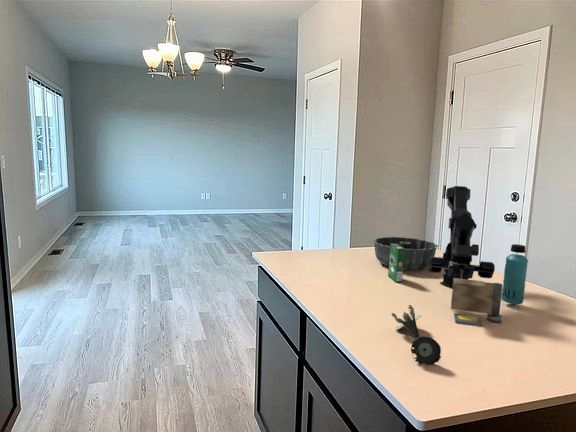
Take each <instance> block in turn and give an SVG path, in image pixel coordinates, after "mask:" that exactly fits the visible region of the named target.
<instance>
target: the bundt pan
mask: <svg viewBox="0 0 576 432" xmlns="http://www.w3.org/2000/svg"><path fill="white" fill-rule="evenodd" d="M372 240H373V241H372V243H374V254H375V258H376V259H377V260H378V262H379V263H381V264H382V265H385V266H386V267H388V268H389V257H390V244H391V243H394V244H398V245H400V246H401V247H403V248H404V249H405V253H404V264H403V271H406V270H407V269H409V270H423V269H424V268H429V262H430V258H431V257H436V251H437V249H438V247H439V245H438V244H436V243H435V242H432V241H428V240H426V239H425V240H424V239H420V238H414V237H406V236H382V237H376V238H375V239H372Z"/></svg>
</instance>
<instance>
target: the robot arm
mask: <svg viewBox="0 0 576 432" xmlns="http://www.w3.org/2000/svg"><path fill="white" fill-rule="evenodd" d="M445 200H447V201H446V202H447V203H446V204H447V206H448V207H449V209H450V213H451V214H450V217H449V218H448V226H447V227H448V229H450V234H449V235H450V236H449V237H450V238H449V242H448V243H447V245H446V246H445V251H444V252H443V253H442V256H441V257H439V256H434V257H431V258H430V262H429V266H428V272H430V273H434V274H439V273H440V274H441V272H442V270H444V272H443V276H442V277H443V279H442V281H440V282H439V284H440V285H444V286H445V287H448V288H451V289H453V279H454V278H458V279H467V280H472V279H473V277H474V273H475V272H476V273H477V275H478V277H479V278H481V279H482V278H483V279H492V278H493V276H494V272H495V271H496V269H495V263H493V262H492V261H483V260H481V261H480V262H479V264H471V263H472V262H473V257H477V256H478V257H479V251H480V248H479V247H480V245H479V244H472V245H471V239H472V237H473V233H474V231H475V229H477V224H476V222H475V220H474V219H473V217H472V213H471V212H470V211H469V210H468V201H470V200H471V189H470V188H468V187H466V186H465V185H455V186H452V187H448V188H446V192H445Z"/></svg>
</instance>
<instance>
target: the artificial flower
mask: <svg viewBox="0 0 576 432" xmlns="http://www.w3.org/2000/svg"><path fill="white" fill-rule="evenodd" d="M407 309H408V311H409V313H408V312H406V311H402V312H403V314H402V318H400V317H398V316H397V314H396V313H394V312H391V316H392V318H394V320H395V322H396V323H399V324H400V325H396V326H395V330H396V331H399V330H400V329H402V328H405V329H407V331H409V332H410V334H411V335H412V336H414V337H415V339H414V340H413V342H412V344H411V347H410V352H411V353H412V354H411V356H412V357H413V355H416V357H413V358H412V359H413V360H414V359H415V362H416V363H417V364H418V365H422V364H424V365H427V366H429V365H434V364H436V363H439V362H440V360H441V358H442V356H441V355H442V354H441V353H442V352H441V351H442V350H441V345H440V344H439V343H438V341H437V340H435V339H434V338H433V337H430V336H422V335H421V336H420V331H419V329H418V326H417V320H418V319H420V318H421V317H422V315H420V314H419V315H418V316H416V313H415V307H413V306H412V305H411V304H409V305H408V306H407Z"/></svg>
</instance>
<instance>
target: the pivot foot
mask: <svg viewBox="0 0 576 432" xmlns="http://www.w3.org/2000/svg"><path fill="white" fill-rule="evenodd" d="M485 319H486V321H487V322H489V323H491V324H501V323H502V322H503V321H502V320H503V315H502V314H500V313H499V315H498V316H496V315H492V314H486V318H485Z"/></svg>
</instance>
